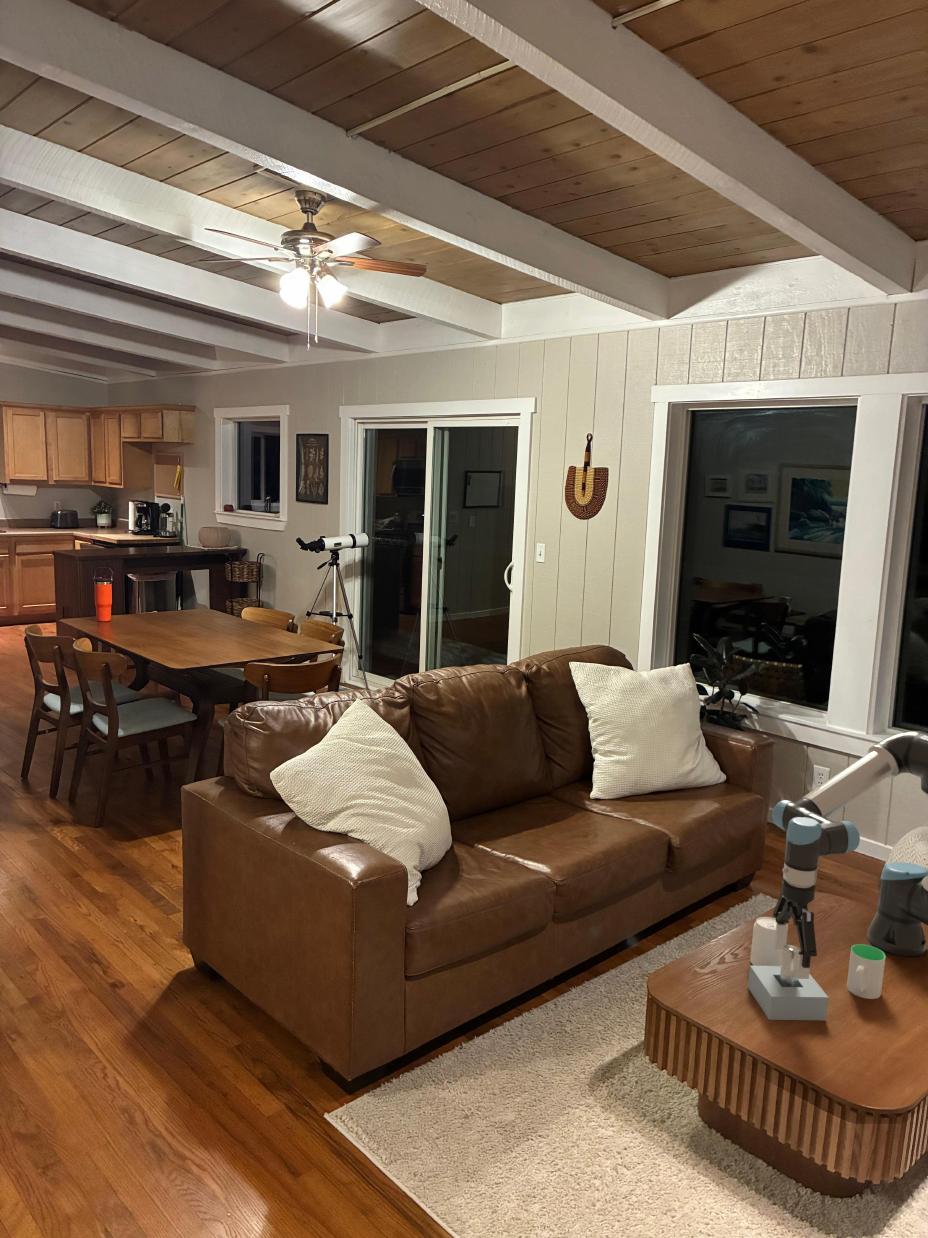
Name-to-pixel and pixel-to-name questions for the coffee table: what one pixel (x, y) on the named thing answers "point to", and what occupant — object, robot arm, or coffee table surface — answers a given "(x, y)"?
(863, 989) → the mug
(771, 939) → the beverage can
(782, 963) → the peg
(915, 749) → the robot arm
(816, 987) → the socket block
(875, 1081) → the coffee table surface
